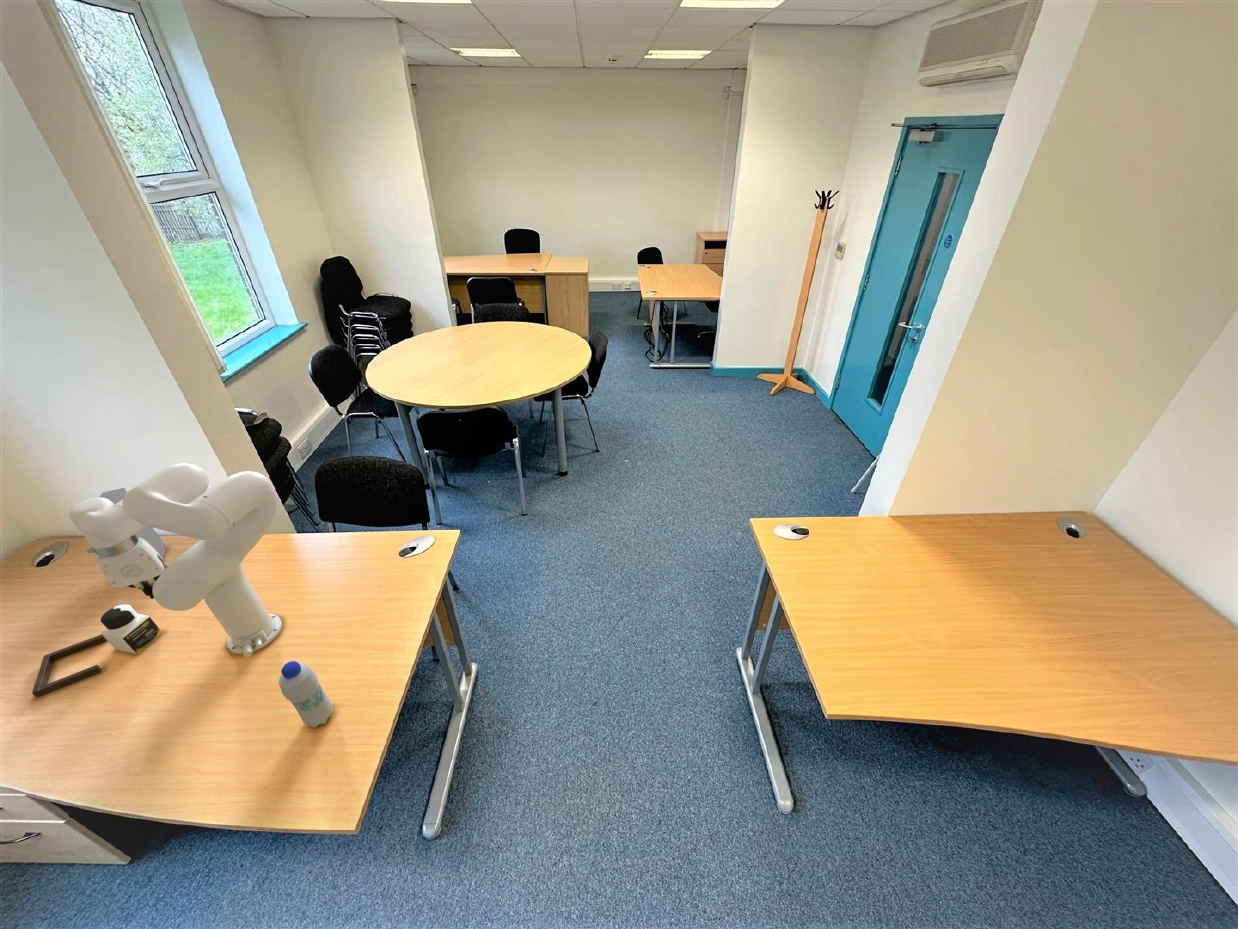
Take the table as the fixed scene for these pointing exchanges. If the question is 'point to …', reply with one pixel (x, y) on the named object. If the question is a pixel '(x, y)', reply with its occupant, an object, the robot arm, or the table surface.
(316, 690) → the bottle
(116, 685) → the table surface
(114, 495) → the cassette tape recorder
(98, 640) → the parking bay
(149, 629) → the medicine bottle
